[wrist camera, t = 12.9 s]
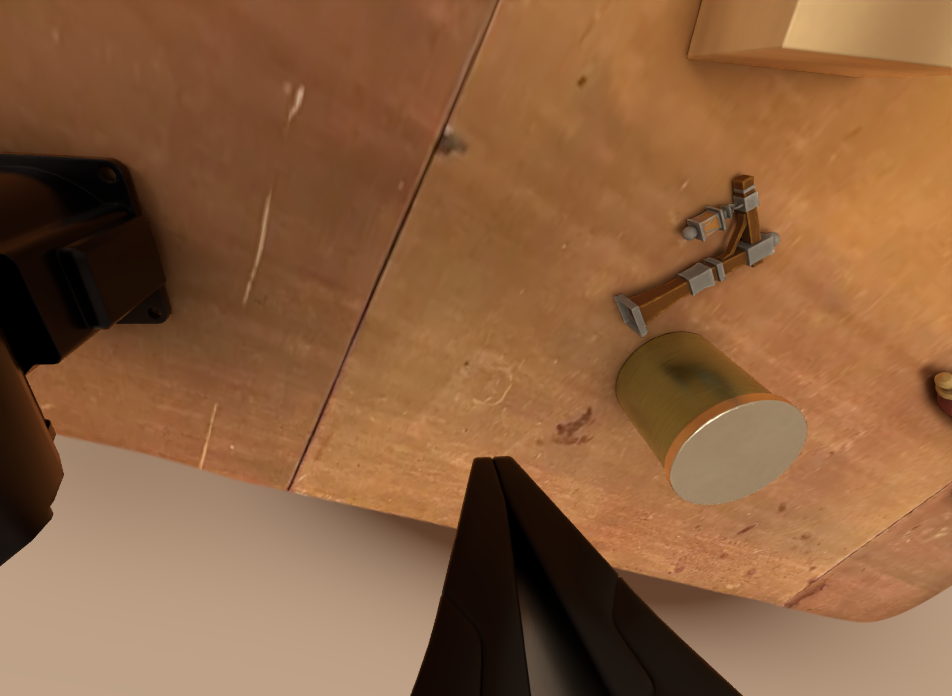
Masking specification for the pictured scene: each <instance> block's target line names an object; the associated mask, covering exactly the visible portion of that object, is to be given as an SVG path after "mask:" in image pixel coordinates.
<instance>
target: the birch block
mask: <svg viewBox="0 0 952 696" xmlns="http://www.w3.org/2000/svg"><path fill="white" fill-rule="evenodd" d="M687 58H689V59H696V60H705V61H714V62H723V63H732V64H741V65H751V66H760V67H769V68H778V69H787V70H796V71H805V72H814V73H823V74H832V75H841V76H851V77H860V78H862V77H899V76H936V75H952V0H702V3H701V7H700V10H699V14H698V18H697V22H696V25H695V29H694V33H693V37H692V40H691V44H690V48H689V51H688V55H687Z"/></svg>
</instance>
